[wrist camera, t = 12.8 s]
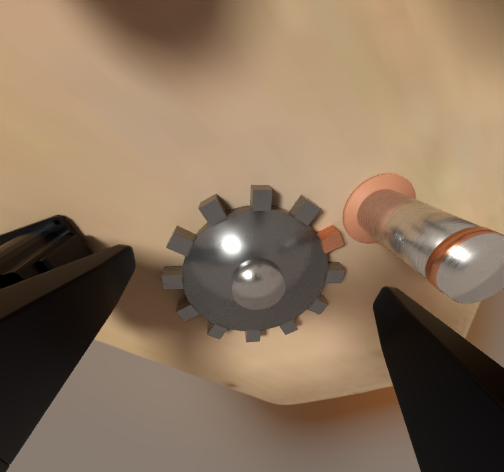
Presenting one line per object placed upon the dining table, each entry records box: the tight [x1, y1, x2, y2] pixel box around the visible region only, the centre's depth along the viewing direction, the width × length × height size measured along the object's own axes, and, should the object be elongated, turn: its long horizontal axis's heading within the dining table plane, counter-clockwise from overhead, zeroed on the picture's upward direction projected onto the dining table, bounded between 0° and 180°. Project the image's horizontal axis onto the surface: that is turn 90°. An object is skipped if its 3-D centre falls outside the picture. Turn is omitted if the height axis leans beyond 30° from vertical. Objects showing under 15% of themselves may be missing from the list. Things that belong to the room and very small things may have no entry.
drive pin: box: [357, 189, 504, 303], centre depth 17 cm, size 4×4×10 cm
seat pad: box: [343, 174, 416, 243], centre depth 22 cm, size 7×7×1 cm
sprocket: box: [161, 185, 345, 342], centre depth 22 cm, size 18×18×3 cm
